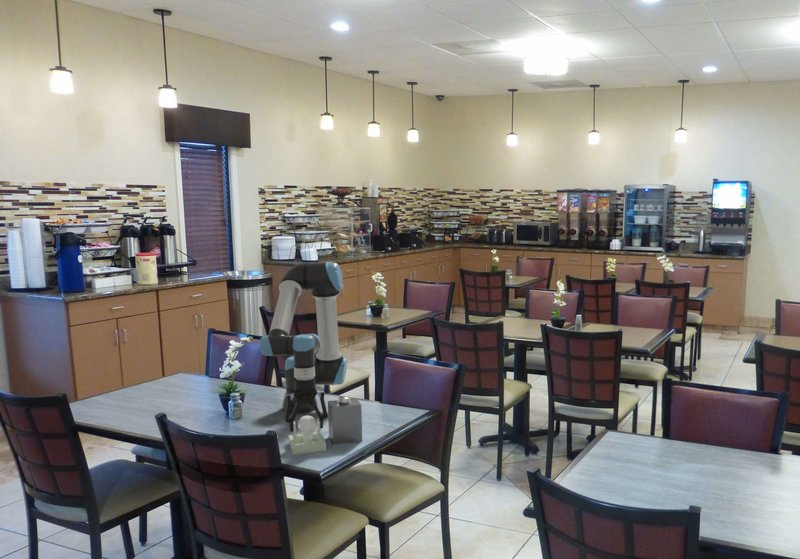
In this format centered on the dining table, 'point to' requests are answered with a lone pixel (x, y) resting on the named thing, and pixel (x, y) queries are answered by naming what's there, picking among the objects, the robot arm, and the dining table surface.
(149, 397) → the dining table surface
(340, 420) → the housing
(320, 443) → the tray
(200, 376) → the dining table surface
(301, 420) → the light bulb
